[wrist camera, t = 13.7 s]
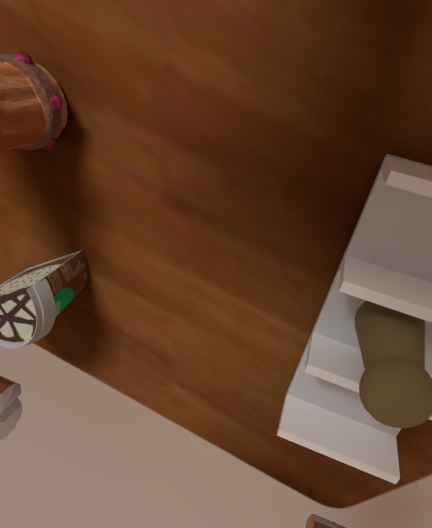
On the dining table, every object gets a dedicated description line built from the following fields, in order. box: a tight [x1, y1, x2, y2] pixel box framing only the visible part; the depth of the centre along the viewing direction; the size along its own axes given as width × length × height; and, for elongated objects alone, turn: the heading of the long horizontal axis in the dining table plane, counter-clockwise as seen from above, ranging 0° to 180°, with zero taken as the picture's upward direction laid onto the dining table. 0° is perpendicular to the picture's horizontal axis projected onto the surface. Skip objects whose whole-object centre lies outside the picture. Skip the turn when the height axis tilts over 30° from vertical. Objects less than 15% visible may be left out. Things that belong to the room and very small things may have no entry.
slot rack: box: [277, 154, 432, 484], centre depth 35 cm, size 28×12×6 cm, turn 167°
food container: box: [0, 250, 89, 348], centre depth 45 cm, size 12×6×10 cm, turn 113°
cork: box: [355, 301, 432, 428], centre depth 33 cm, size 6×6×11 cm
